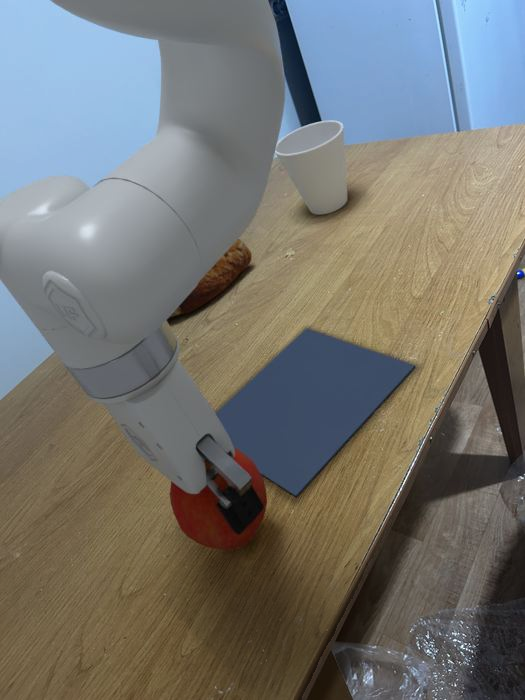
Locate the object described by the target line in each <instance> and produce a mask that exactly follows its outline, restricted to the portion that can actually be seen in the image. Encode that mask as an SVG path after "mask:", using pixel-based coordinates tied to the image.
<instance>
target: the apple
mask: <svg viewBox="0 0 525 700" xmlns="http://www.w3.org/2000/svg"><path fill="white" fill-rule="evenodd" d="M234 449H235V448H234ZM233 459H234V460H235V461H236V462H237V463H238V464H239V465H240V466H241V467H242V468H243V469H244V470H245V471H246V472H247V473H248V474H249V475H250V476H251V477H252V485H253V488H254V490H255V491H256V493H257V495H258V496H259V498H260V500H261V502H262V503H263V505H264V508H263V510H262V512H261V513H260V514H259V515H258V516H257V518H256V519H255V520H254V521H253V522H252V523H251V524H249V526H248V527H247V528H246V529H245V530H244V531H243V532H242V533H241V534H236V533H235V532H234V531H233V530H232V529H231V527H230V526H229V524H228V523H227V521H226V520H225V518H224V517H223V515H222V514H221V512H220V511H219V509H218V508H217V506H216V505H217V503H218V500H217V499H216V498H215V497H214V496H213V495H212V494H211V493H210V491H209V490H208V489H207V488H206V487H204V488H203V489H202V490H201V491H200V493H198V494H190V493H187V492H185V491H184V490H182V489H181V488H180V487H178V486H177V485H176V484H174V483H173V482H172V481H171V480H170V488H169V500H170V501H169V502H170V506H171V509H172V514H173V516H174V517H175V519H176V522H177V524H178V526H179V528H180V531H182V533H183V534H185V536H186V537H187V538H188V539H190V540H191V541H193V542H195V543H196V544H199V545H201V546H203V547H205V548H210V549H211V548H212V549H216V550H222V551H225V550H235V549H238V548H242V547H244V546H246V545H247V544H248V543H249V542H250V541H251V540H252V539H253V538H254V537H255V535H256V533H257V532H258V529H259V527H260V526H261V524H262V521H263V520H264V517H265V514H266V509H267V505H268V496H267V489H266V483H265V480H264V476H263V475H261V474H260V472H259V470H258V469H257V467H256V465H255V463H254V461H252V460H251V459H250V458H249V457H247V456H246V455H245V454H243V453H242V452H241V451H239V450H238V449H235V457H234V458H233ZM204 462H205V468H206V470H207V469H208V468H209V467H210V466H211V465H210V464H209V463H208V462H207V461H206V460H205V461H204ZM212 481H213V482H214V483H215V484H216V485H217V486H218V487H219V489H220V490H221V491H222V492H223V491H224V490H225V489H226V488H227V486H228V483H227V481H226V480H225V479H224V478H223V477H222V476H221V475H220V474H219V473H218V474H217V475H216V476H215V477H214V478H213V479H212Z"/></svg>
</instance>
